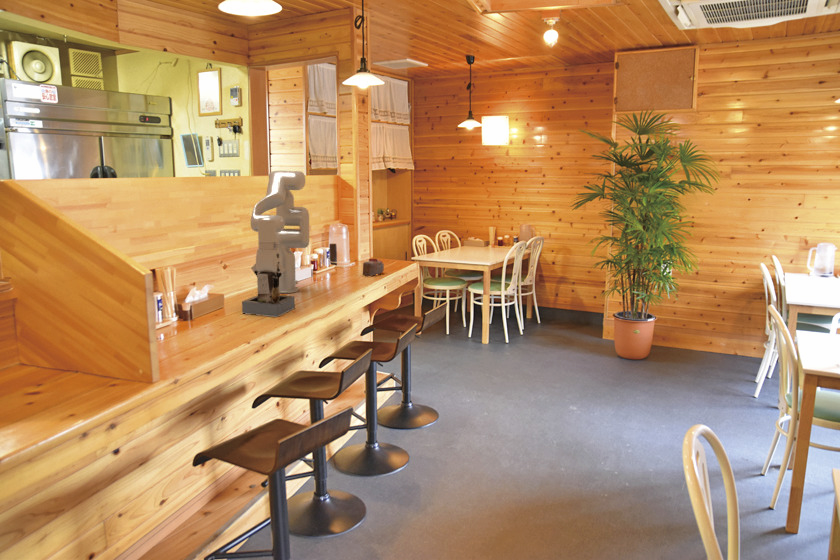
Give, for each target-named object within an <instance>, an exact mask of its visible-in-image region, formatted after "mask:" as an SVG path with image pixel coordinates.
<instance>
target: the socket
mask: <svg viewBox="0 0 840 560" xmlns="http://www.w3.org/2000/svg"><path fill="white" fill-rule="evenodd" d="M279 296H280V301H279V302H276V303H266V302H258V294H257V295H255V296H252V297H250V298H247V299H245V300H242V301H241V310H242V311H241V312H242V313H245V314H244V315H250V314H256V315H255V316H260V315H263V317H273V318H278V317H280V316H282V315H285V314H286V313H288V312H290V311H292V310H295V308H296V305H295V304H296V302H295V301H296V300H295V299H296V298H295V297H296V296H293V295H292V296H291V295H284V294H283V295H282V294H281V295H280V294H279ZM242 313H241V314H242Z"/></svg>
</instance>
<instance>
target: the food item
mask: <svg viewBox="0 0 840 560" xmlns="http://www.w3.org/2000/svg"><path fill="white" fill-rule="evenodd" d="M384 266H385V264H384V263H383V261H382V260H380V259H377V258H369V259H368V261H364V262H363V263H362V276H363V275H366V276H365V277H368V276H371V277H373V275H374V276H376V274H378V275H381V274H382V273H383V272H384V269H385V267H384ZM380 273H381V274H380Z"/></svg>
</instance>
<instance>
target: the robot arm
mask: <svg viewBox="0 0 840 560" xmlns="http://www.w3.org/2000/svg"><path fill="white" fill-rule="evenodd" d="M305 185H306V175H305V174H304V172H303V171H301V170H300V171H299V170H273V171H270V172H269V173H268V183H267V189H266V193H265V196H264V197H262V198H261V199H260V200H259V201H258V202H256V204H255V205H254V206H253V208H252V213H251V216H250V228H251V229H252V231H254V232H256V233H257V234H258V236H257V237H258V248H257V250H256V256H255V264H253V266H252V267H251V270H252V272H253V273H254V274H255V276H256V277H257V274H258V273H260V272H269V273H273V274H274V278H275V279H274V288H277V287H279V294H293V293H297V292H299V290H300V288H299V287H297V286H296V285H297V284H299V281H298V280H297V278H296V256H295V254H294V252H293V250H291V249H306V248H308V246H309V245H310V214H309V213H310V212H309V210H308V209H307V208H306V207H305V206H304V207H303V206H295V202H294V200H295V197H294V195H293V193H292V191H301V190H302V189H304V187H305ZM273 209H275V214H276V215H275V214H272V215H271V214H263V213H266V212H267V211H270V210H273ZM285 226H286V227H299V228H285ZM278 271H279V273H278Z"/></svg>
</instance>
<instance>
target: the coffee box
mask: <svg viewBox="0 0 840 560" xmlns="http://www.w3.org/2000/svg"><path fill="white" fill-rule="evenodd" d="M278 273H279V271H278ZM256 277H257V279H256V280H257V281H256V284H257V295H258V302H266V303H276V302H279V301H280V296H279V295H280V293H279V287H277V288H274V279H275V278H274V274H273V273H269V272H260V273H258V274H257V276H256Z"/></svg>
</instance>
